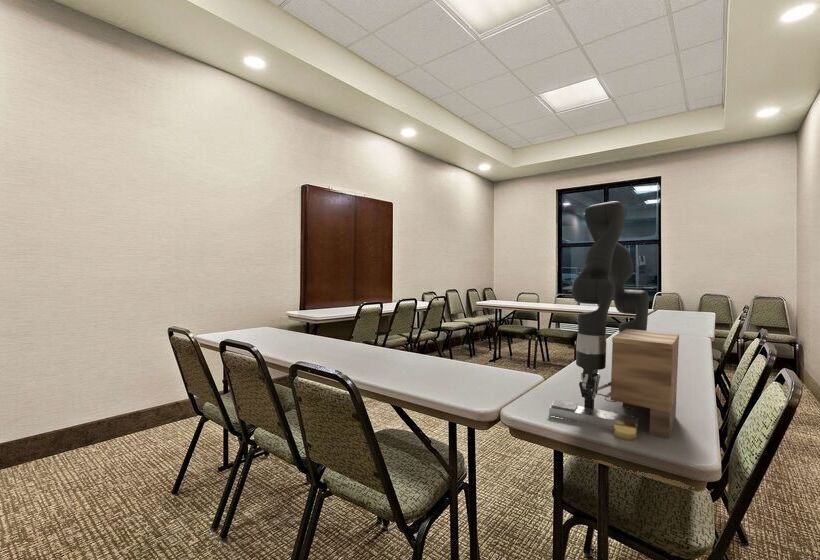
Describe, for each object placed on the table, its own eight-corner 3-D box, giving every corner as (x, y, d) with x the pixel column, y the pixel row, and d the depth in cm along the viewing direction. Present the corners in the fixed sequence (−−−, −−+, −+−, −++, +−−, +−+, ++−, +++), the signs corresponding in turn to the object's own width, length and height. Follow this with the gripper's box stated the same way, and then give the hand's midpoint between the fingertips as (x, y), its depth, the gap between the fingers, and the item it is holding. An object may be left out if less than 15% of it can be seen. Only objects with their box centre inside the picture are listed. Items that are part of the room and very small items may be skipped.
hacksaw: (615, 382, 141) (615, 377, 141) (646, 389, 133) (646, 385, 133) (581, 394, 126) (582, 390, 126) (614, 403, 118) (614, 398, 118)
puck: (614, 430, 98) (615, 419, 98) (637, 435, 95) (637, 423, 95) (612, 437, 94) (612, 425, 94) (635, 443, 91) (636, 430, 91)
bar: (553, 411, 111) (553, 399, 111) (637, 428, 100) (637, 414, 100) (548, 418, 106) (549, 405, 106) (636, 436, 95) (637, 422, 95)
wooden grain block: (623, 405, 116) (626, 328, 115) (675, 416, 108) (679, 334, 107) (609, 424, 101) (612, 337, 100) (668, 439, 93) (672, 344, 92)
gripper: (583, 344, 115) (581, 401, 115) (569, 351, 104) (567, 414, 105) (611, 348, 110) (609, 407, 111) (599, 356, 100) (597, 421, 100)
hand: (588, 411), depth 108 cm, fingers closed
